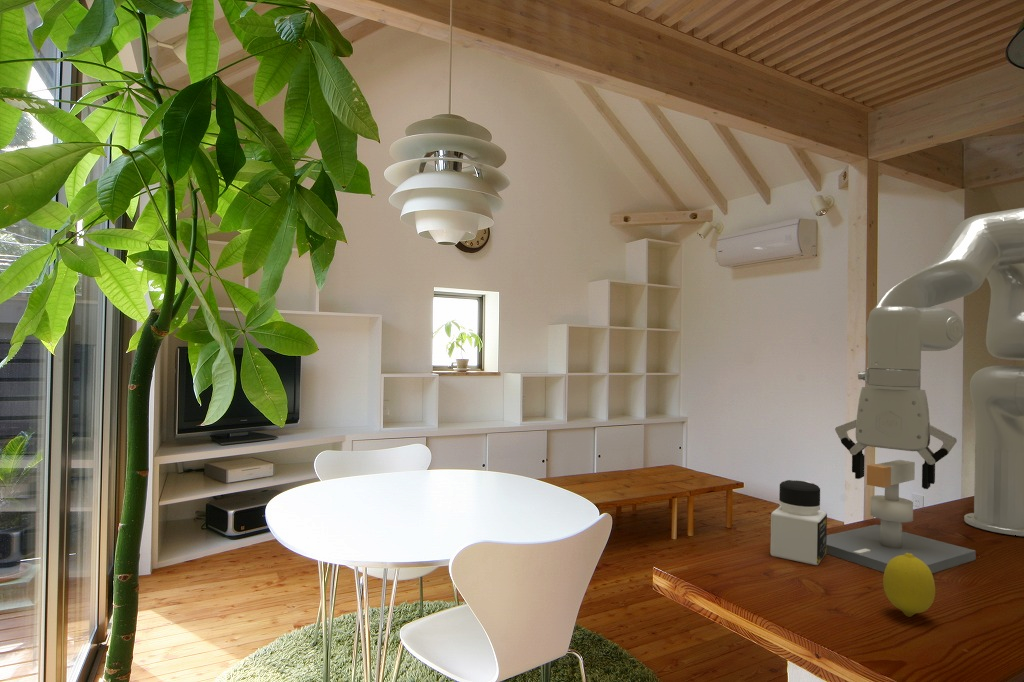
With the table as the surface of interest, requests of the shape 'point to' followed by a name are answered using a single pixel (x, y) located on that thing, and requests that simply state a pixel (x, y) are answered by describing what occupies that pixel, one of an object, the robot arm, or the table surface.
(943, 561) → the coupling base
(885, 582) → the lemon
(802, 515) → the medicine bottle
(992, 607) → the table surface
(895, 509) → the grey and orange blocks
